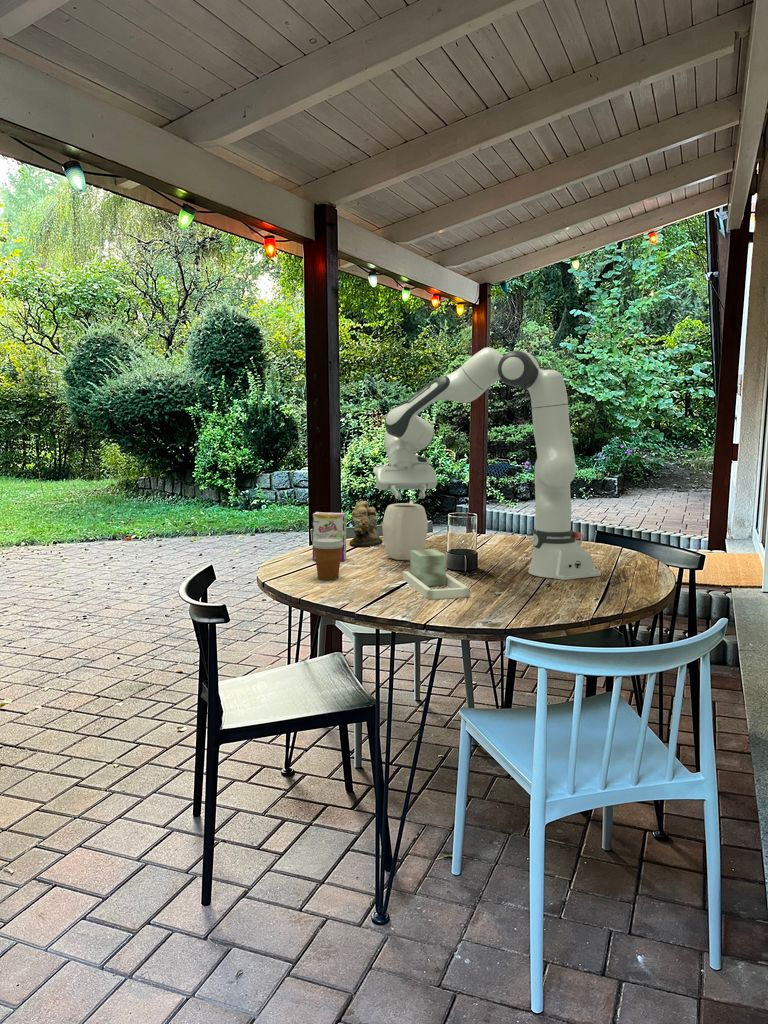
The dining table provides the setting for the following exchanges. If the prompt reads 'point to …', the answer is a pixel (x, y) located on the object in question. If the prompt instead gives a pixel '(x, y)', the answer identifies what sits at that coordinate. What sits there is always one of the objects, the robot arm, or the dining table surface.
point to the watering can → (404, 529)
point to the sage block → (428, 566)
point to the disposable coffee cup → (327, 557)
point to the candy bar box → (330, 528)
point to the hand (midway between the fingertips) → (410, 497)
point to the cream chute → (453, 592)
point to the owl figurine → (365, 526)
